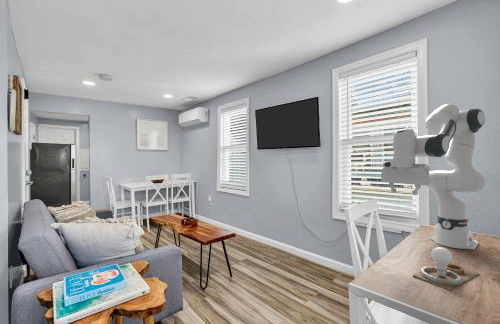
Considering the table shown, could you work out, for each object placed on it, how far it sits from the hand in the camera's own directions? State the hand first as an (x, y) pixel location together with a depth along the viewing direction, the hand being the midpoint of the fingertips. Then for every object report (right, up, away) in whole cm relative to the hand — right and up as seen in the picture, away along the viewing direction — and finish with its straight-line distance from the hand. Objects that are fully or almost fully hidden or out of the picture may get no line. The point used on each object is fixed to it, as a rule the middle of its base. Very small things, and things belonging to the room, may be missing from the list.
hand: (404, 193), depth 114 cm
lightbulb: (+1, -29, -21) cm, 36 cm away
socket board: (+4, -29, -19) cm, 35 cm away
